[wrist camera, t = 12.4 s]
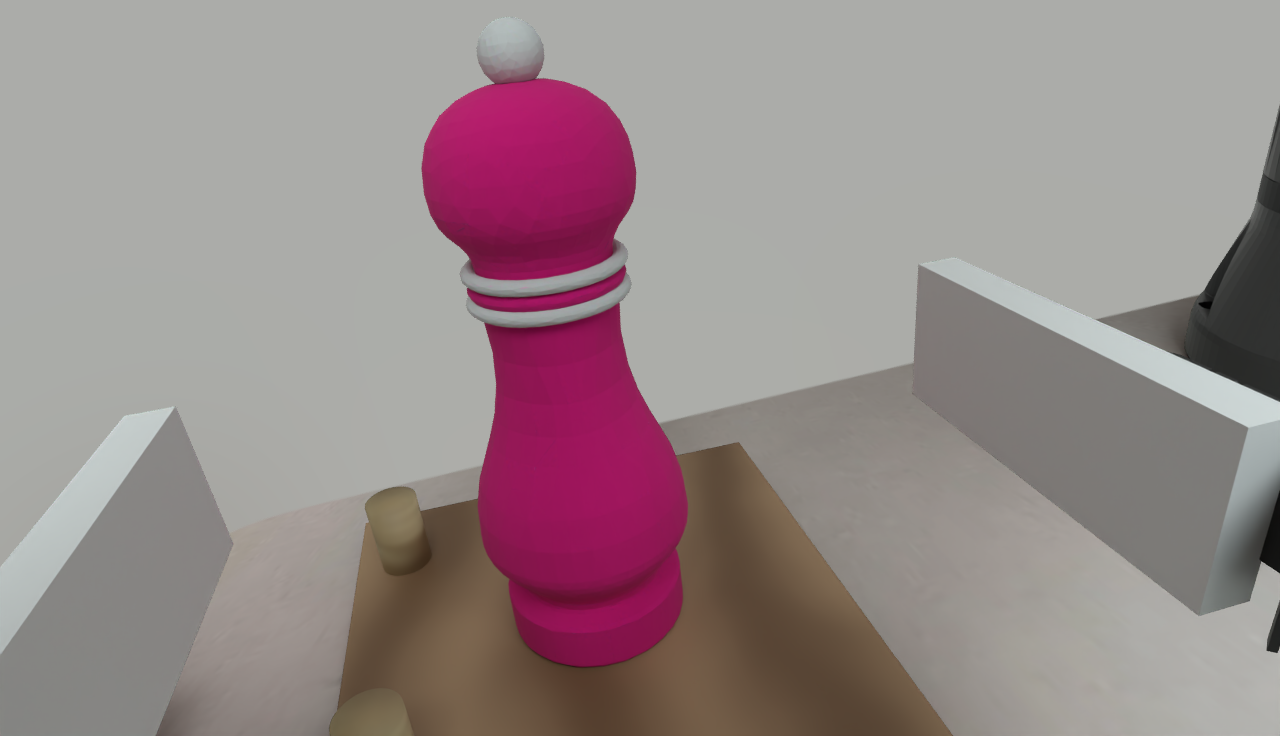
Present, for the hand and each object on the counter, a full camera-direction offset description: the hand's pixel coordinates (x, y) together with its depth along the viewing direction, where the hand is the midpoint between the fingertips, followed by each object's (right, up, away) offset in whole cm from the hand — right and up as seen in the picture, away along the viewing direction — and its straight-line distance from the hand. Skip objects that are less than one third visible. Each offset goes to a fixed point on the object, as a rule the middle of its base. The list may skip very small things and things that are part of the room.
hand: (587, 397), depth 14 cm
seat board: (-1, -9, +15) cm, 18 cm away
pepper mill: (-1, -9, +15) cm, 17 cm away
